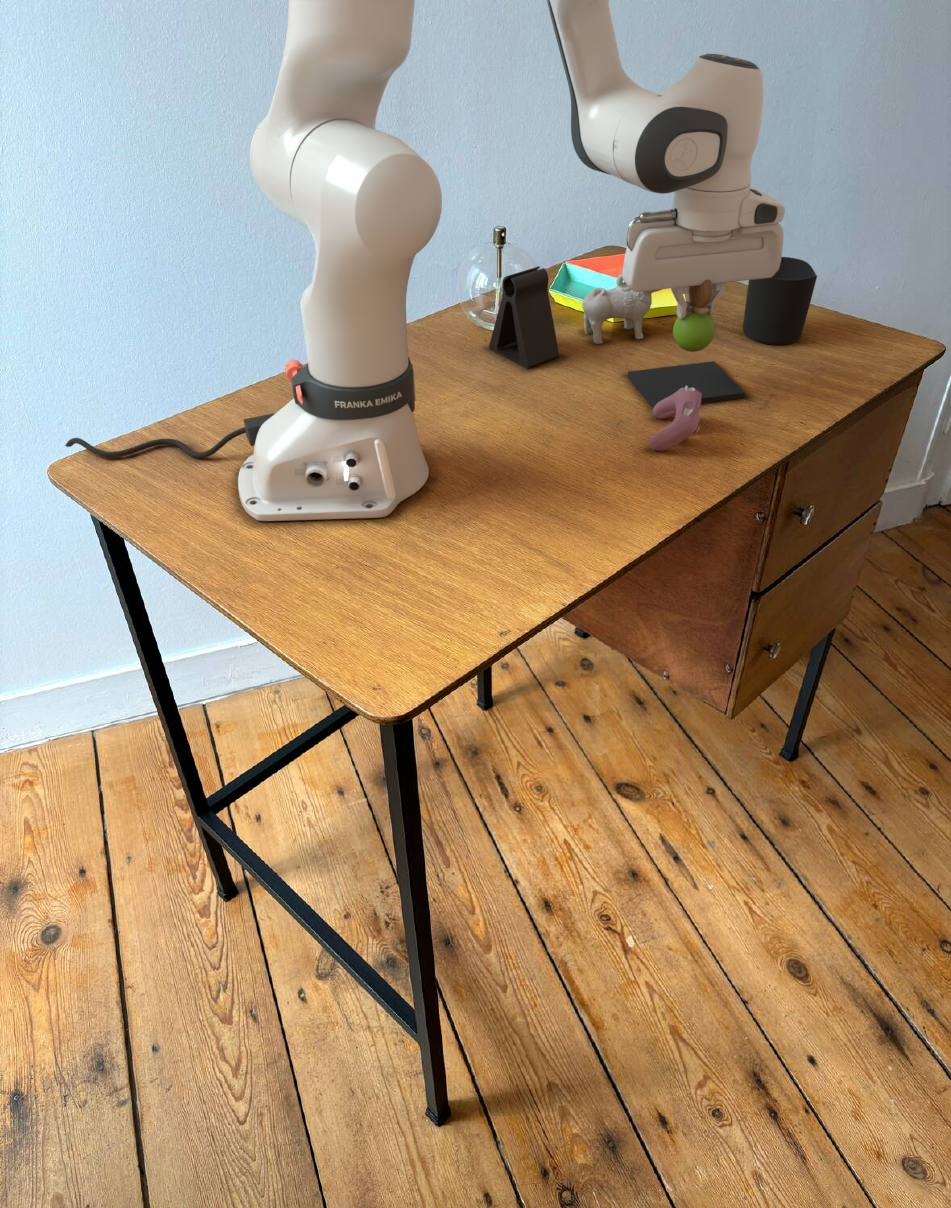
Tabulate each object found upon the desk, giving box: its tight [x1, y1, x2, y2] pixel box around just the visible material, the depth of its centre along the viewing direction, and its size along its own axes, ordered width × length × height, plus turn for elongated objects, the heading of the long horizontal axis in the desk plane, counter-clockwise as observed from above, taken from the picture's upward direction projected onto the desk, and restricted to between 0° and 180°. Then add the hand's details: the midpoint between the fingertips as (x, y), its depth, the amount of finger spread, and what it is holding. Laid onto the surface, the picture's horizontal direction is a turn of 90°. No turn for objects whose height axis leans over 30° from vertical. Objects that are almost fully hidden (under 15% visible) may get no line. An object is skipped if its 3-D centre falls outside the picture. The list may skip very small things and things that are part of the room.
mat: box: [627, 360, 746, 409], centre depth 131 cm, size 13×10×1 cm
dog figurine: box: [581, 273, 664, 345], centre depth 142 cm, size 5×13×11 cm, turn 106°
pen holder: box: [742, 256, 818, 346], centre depth 141 cm, size 9×9×10 cm
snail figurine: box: [672, 280, 716, 353], centre depth 124 cm, size 5×6×12 cm
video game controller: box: [648, 385, 702, 452], centre depth 120 cm, size 10×5×7 cm, turn 168°
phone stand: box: [488, 265, 560, 369], centre depth 137 cm, size 9×6×12 cm, turn 37°
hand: (694, 315), depth 125 cm, fingers closed on snail figurine
